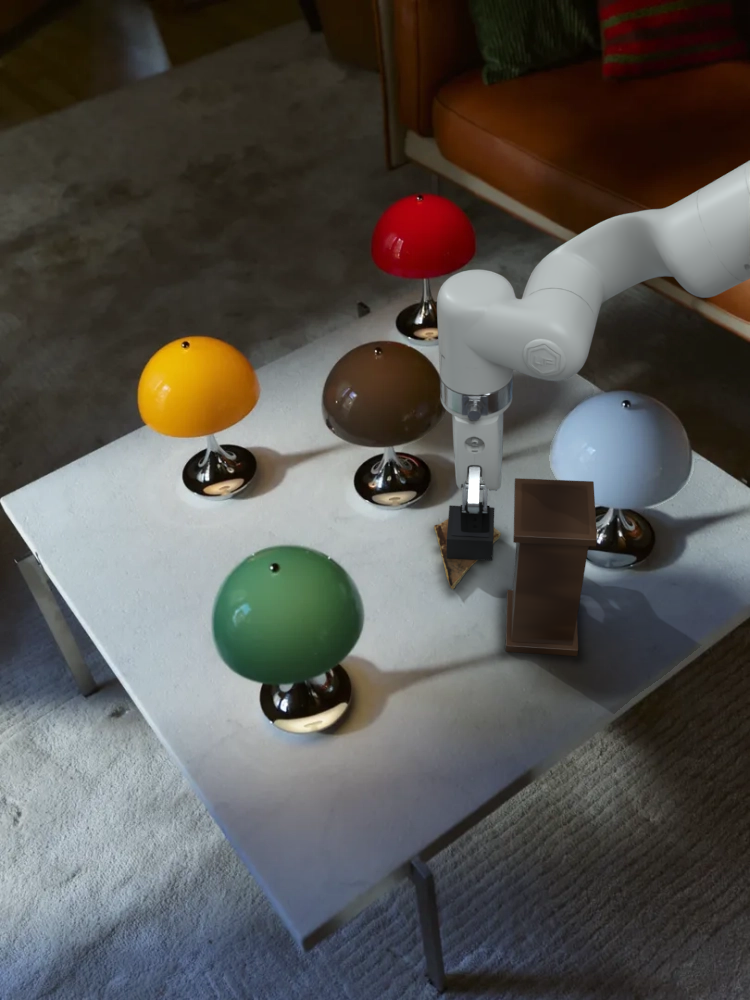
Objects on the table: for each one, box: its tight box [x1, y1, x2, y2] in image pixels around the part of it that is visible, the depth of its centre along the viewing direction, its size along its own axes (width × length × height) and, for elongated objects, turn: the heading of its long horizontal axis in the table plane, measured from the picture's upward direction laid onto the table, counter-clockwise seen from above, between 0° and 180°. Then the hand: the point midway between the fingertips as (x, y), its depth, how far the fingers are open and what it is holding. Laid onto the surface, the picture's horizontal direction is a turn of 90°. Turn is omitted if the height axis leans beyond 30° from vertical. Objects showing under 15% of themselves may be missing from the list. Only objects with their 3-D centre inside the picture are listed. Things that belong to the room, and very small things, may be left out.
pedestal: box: [505, 477, 598, 657], centre depth 102 cm, size 8×8×20 cm
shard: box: [433, 518, 502, 590], centre depth 117 cm, size 11×8×2 cm
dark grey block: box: [447, 505, 496, 561], centre depth 115 cm, size 6×6×4 cm
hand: (477, 499), depth 110 cm, fingers open, 9 cm apart
